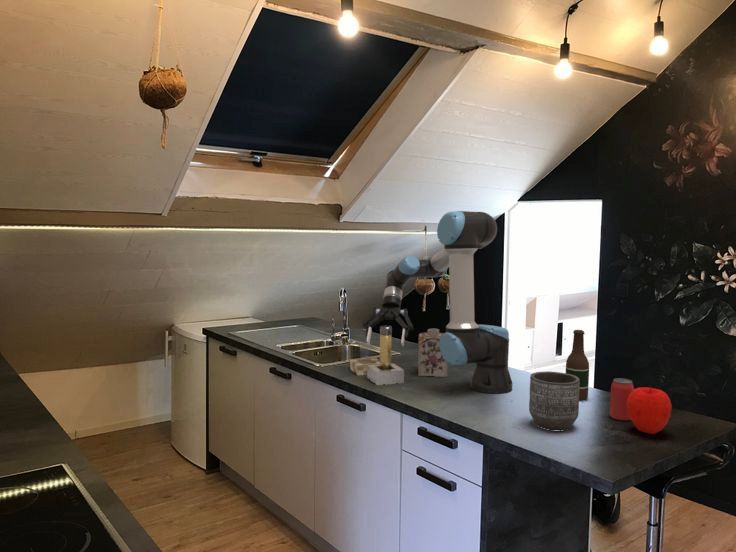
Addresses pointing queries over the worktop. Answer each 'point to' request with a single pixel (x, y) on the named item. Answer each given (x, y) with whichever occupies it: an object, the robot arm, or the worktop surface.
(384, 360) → the yellow glass cylinder
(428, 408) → the worktop surface
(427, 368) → the decorative jar
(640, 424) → the apple
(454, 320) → the robot arm
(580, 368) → the beer bottle
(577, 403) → the planter
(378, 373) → the socket block
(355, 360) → the rack block
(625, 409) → the beer can
